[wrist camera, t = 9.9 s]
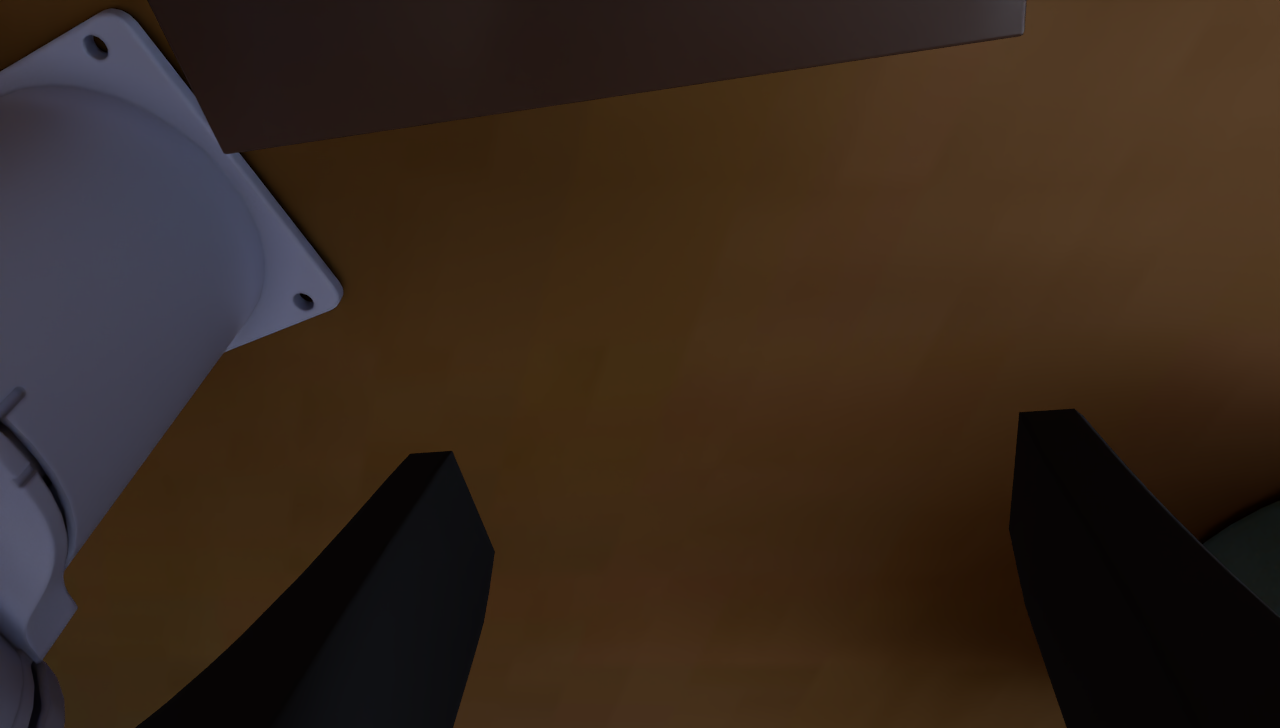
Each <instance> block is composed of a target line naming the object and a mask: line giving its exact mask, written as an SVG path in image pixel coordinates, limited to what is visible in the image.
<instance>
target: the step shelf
mask: <svg viewBox="0 0 1280 728" xmlns="http://www.w3.org/2000/svg"><path fill="white" fill-rule="evenodd" d="M148 2H149V5H150V7H151V9H152V11H153V13H154V15H155V17H156V19H157V21H158V23H159V25H160V27H161V29H162V31H163V33H164V35H165V37H166V39H167V41H168V43H169V45H170V47H171V49H172V51H173V53H174V55H175V57H176V59H177V61H178V63H179V65H180V67H181V69H182V71H183V73H184V75H185V77H186V79H187V81H188V83H189V85H190V87H191V89H192V91H193V93H194V95H195V97H196V99H197V101H198V103H199V105H200V107H201V109H202V111H203V113H204V115H205V117H206V119H207V121H208V123H209V125H210V127H211V129H212V131H213V133H214V135H215V137H216V139H217V141H218V143H219V145H220V147H221V149H222V151H223V153H224V154H232V153H239V152H245V151H252V150H259V149H266V148H272V147H279V146H286V145H292V144H299V143H306V142H313V141H319V140H326V139H333V138H340V137H346V136H353V135H360V134H366V133H373V132H380V131H387V130H393V129H400V128H407V127H413V126H420V125H427V124H434V123H440V122H447V121H454V120H460V119H467V118H474V117H481V116H487V115H494V114H501V113H507V112H514V111H521V110H528V109H534V108H541V107H548V106H554V105H561V104H568V103H575V102H581V101H588V100H595V99H601V98H608V97H615V96H622V95H628V94H635V93H642V92H648V91H655V90H662V89H669V88H675V87H682V86H689V85H695V84H702V83H709V82H716V81H722V80H729V79H736V78H742V77H749V76H756V75H763V74H769V73H776V72H783V71H789V70H796V69H803V68H810V67H816V66H823V65H830V64H836V63H843V62H850V61H857V60H863V59H870V58H877V57H883V56H890V55H897V54H904V53H910V52H917V51H924V50H930V49H937V48H944V47H951V46H957V45H964V44H971V43H978V42H984V41H991V40H998V39H1004V38H1011V37H1018V36H1021V35H1023V33H1024V29H1025V15H1026V0H148Z"/></svg>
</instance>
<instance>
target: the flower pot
mask: <svg viewBox="0 0 1280 728" xmlns="http://www.w3.org/2000/svg"><path fill="white" fill-rule="evenodd" d="M1202 545H1203V546H1204V547H1205V548H1206V549H1207V550H1208V551H1209V552H1210V553H1211V554H1212V555H1213V556H1215V557H1216V558H1217V559H1218V560H1219V561H1220V562H1221V563H1222V564H1223V565H1224V566H1225V567H1226V568H1227V569H1228V570H1229V571H1230V572H1231V573H1232V574H1233V575H1235V576H1236V577H1237V578H1238V579H1239V580H1240V581H1241V582H1242V583H1243V584H1244V585H1245V586H1247V587H1248V588H1249V589H1250V590H1251V591H1252V592H1253V593H1254V594H1255V595H1257V596H1258V597H1259V598H1260V599H1261V600H1262V601H1263V602H1264V603H1265V604H1266V605H1268V606H1269V607H1270V608H1271V609H1272V610H1273V611H1274V612H1275V613H1276V614H1278V615H1279V616H1280V500H1279V501H1277V502H1275V503H1272V504H1270V505H1268V506H1265V507H1263V508H1261V509H1259V510H1257V511H1255V512H1254V513H1252V514H1250V515H1248V516H1246V517H1244V518H1242V519H1241V520H1239V521H1237V522H1235V523H1233V524H1231V525H1230V526H1228V527H1227V528H1225V529H1224V530H1222V531H1221V532H1219V533H1218V534H1216V535H1215V536H1213V537H1212V538H1210V539H1209V540H1208V541H1206V542H1205V543H1204V544H1202Z"/></svg>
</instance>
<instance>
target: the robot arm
mask: <svg viewBox="0 0 1280 728" xmlns="http://www.w3.org/2000/svg"><path fill="white" fill-rule="evenodd" d="M93 36H96V37H99V38H100V39H101V40H102V41H103V42H104V43H105V44H106V46H107V48H108V53H106V52H103V51H102V50H101V49H99V48H98V47H97V46H96V44H95V42H94V40H93ZM300 293H303V294H306V295H308V296H309V297H310V298H312V300H313V302H310V301H307V300H305V299H303V298H302V297H301V296H300ZM342 296H343V287H342V286H341V284H340V282H339V280H338V279H337V278H336V277H335V275H334V274H333V273H332V271H331V270H330V269H329V268H328V266H327V265H326V264H325V262H324V261H323V260H322V259H321V257H320V256H319V255H318V253H317V252H316V251H315V250H314V248H313V247H312V246H311V244H310V243H309V242H308V241H307V239H306V238H305V237H304V235H303V234H302V233H301V232H300V230H299V229H298V228H297V226H296V225H295V224H294V223H293V221H292V220H291V219H290V217H289V216H288V215H287V214H286V212H285V211H284V210H283V208H282V207H281V206H280V205H279V203H278V202H277V201H276V199H275V198H274V197H273V196H272V194H271V193H270V192H269V190H268V189H267V188H266V187H265V185H264V184H263V183H262V181H261V180H260V179H259V178H258V176H257V175H256V174H255V172H254V171H253V170H252V169H251V167H250V166H249V165H248V163H247V162H246V161H245V160H244V158H243V157H242V156H241V154H240V153H232V154H224V153H223V151H222V149H221V147H220V145H219V143H218V141H217V139H216V137H215V135H214V133H213V131H212V129H211V127H210V125H209V123H208V121H207V119H206V117H205V115H204V113H203V111H202V109H201V107H200V105H199V103H198V101H197V99H196V97H195V95H194V94H193V93H192V91H191V90H190V89H189V88H188V86H187V85H186V84H185V82H184V81H183V80H182V79H181V77H180V76H179V75H178V73H177V72H176V71H175V70H174V68H173V67H172V66H171V64H170V63H169V62H168V61H167V59H166V58H165V57H164V55H163V54H162V53H161V52H160V50H159V49H158V48H157V46H156V45H155V44H154V43H153V41H152V40H151V39H150V37H149V36H148V35H147V34H146V32H145V31H144V30H143V28H142V27H141V26H140V25H139V23H138V22H137V21H136V20H135V19H134V18H133V17H132V16H131V15H129V14H127V13H126V12H124V11H122V10H119V9H113V8H110V9H107V10H103V11H102V12H100V13H98V14H96V15H95V16H93V17H91V18H90V19H88V20H86V21H85V22H83V23H81V24H80V25H78V26H76V27H74V28H73V29H71V30H69V31H68V32H66V33H64V34H63V35H61V36H59V37H58V38H56V39H54V40H53V41H51V42H49V43H48V44H46V45H44V46H42V47H41V48H39V49H37V50H36V51H34V52H32V53H31V54H29V55H27V56H26V57H24V58H22V59H21V60H19V61H17V62H16V63H14V64H12V65H11V66H9V67H7V68H5V69H4V70H2V71H0V728H64V724H65V706H64V697H63V694H62V691H61V688H60V685H59V682H58V679H57V677H56V675H55V674H54V673H53V671H52V670H51V669H50V667H49V666H48V665H47V663H46V662H44V661H43V658H44V657H45V655H46V654H47V652H48V651H49V650H50V648H51V647H52V645H53V644H54V642H55V641H56V639H57V638H58V636H59V635H60V634H61V632H62V631H63V629H64V628H65V626H66V625H67V623H68V622H69V620H70V619H71V618H72V616H73V615H74V613H75V612H76V610H77V609H78V607H77V605H76V603H75V601H74V600H73V599H72V597H71V596H70V595H69V593H68V591H67V589H66V587H65V584H64V580H63V574H64V570H65V569H66V568H67V566H68V565H69V564H70V562H71V561H72V560H73V558H74V557H75V556H76V554H77V553H78V551H79V550H80V549H81V547H82V546H83V545H84V543H85V542H86V540H87V539H88V538H89V536H90V535H91V534H92V532H93V531H94V530H95V528H96V527H97V525H98V524H99V523H100V521H101V520H102V519H103V517H104V516H105V514H106V513H107V512H108V510H109V509H110V508H111V506H112V505H113V504H114V502H115V501H116V499H117V498H118V497H119V495H120V494H121V493H122V491H123V490H124V488H125V487H126V486H127V484H128V483H129V482H130V480H131V479H132V478H133V476H134V475H135V473H136V472H137V471H138V469H139V468H140V467H141V465H142V464H143V462H144V461H145V460H146V458H147V457H148V456H149V454H150V453H151V452H152V450H153V449H154V447H155V446H156V445H157V443H158V442H159V441H160V439H161V438H162V436H163V435H164V434H165V432H166V431H167V430H168V428H169V427H170V426H171V424H172V423H173V421H174V420H175V419H176V417H177V416H178V415H179V413H180V412H181V410H182V409H183V408H184V406H185V405H186V404H187V402H188V401H189V399H190V398H191V397H192V395H193V394H194V393H195V391H196V390H197V389H198V387H199V386H200V384H201V383H202V382H203V380H204V379H205V378H206V376H207V375H208V373H209V372H210V371H211V369H212V368H213V367H214V365H215V364H216V363H217V361H218V360H219V358H220V357H221V356H222V354H223V353H224V352H226V351H229V350H231V349H234V348H236V347H239V346H241V345H244V344H247V343H249V342H252V341H254V340H257V339H259V338H262V337H264V336H267V335H269V334H272V333H274V332H277V331H279V330H282V329H284V328H287V327H290V326H292V325H295V324H297V323H300V322H302V321H305V320H307V319H310V318H312V317H315V316H317V315H320V314H322V313H325V312H328V311H330V310H332V309H334V308H335V307H337V305H338V304H339V302H340V300H341V298H342ZM1009 531H1010V536H1011V541H1012V546H1013V551H1014V556H1015V560H1016V565H1017V570H1018V575H1019V579H1020V584H1021V588H1022V593H1023V597H1024V602H1025V606H1026V609H1027V612H1028V615H1029V618H1030V621H1031V624H1032V627H1033V630H1034V633H1035V636H1036V639H1037V642H1038V645H1039V648H1040V651H1041V654H1042V657H1043V660H1044V663H1045V666H1046V669H1047V672H1048V674H1049V677H1050V680H1051V683H1052V686H1053V689H1054V692H1055V695H1056V698H1057V701H1058V704H1059V706H1060V709H1061V712H1062V715H1063V718H1064V721H1065V724H1066V727H1067V728H1280V616H1279V615H1278V614H1276V613H1275V612H1274V611H1273V610H1272V609H1271V608H1270V607H1269V606H1268V605H1266V604H1265V603H1264V602H1263V601H1262V600H1261V599H1260V598H1259V597H1258V596H1257V595H1255V594H1254V593H1253V592H1252V591H1251V590H1250V589H1249V588H1248V587H1247V586H1245V585H1244V584H1243V583H1242V582H1241V581H1240V580H1239V579H1238V578H1237V577H1236V576H1235V575H1233V574H1232V573H1231V572H1230V571H1229V570H1228V569H1227V568H1226V567H1225V566H1224V565H1223V564H1222V563H1221V562H1220V561H1219V560H1218V559H1217V558H1216V557H1215V556H1213V555H1212V554H1211V553H1210V552H1209V551H1208V550H1207V549H1206V548H1205V547H1204V546H1203V545H1202V544H1201V543H1200V542H1199V541H1198V540H1197V539H1196V538H1195V537H1194V536H1193V535H1192V534H1191V533H1190V532H1189V531H1188V530H1187V529H1186V528H1185V527H1184V526H1183V525H1182V524H1181V523H1180V522H1179V521H1178V520H1177V519H1176V518H1175V517H1174V516H1173V515H1172V514H1171V513H1170V512H1169V511H1168V510H1167V509H1166V507H1165V506H1164V505H1163V504H1162V503H1161V502H1160V501H1159V500H1158V499H1157V498H1156V497H1155V496H1154V495H1153V494H1152V493H1151V492H1150V491H1149V490H1148V488H1147V487H1146V486H1145V485H1144V484H1143V483H1142V482H1141V481H1140V480H1139V479H1138V478H1137V477H1136V475H1135V474H1134V473H1133V472H1132V471H1131V470H1130V469H1129V468H1128V467H1127V466H1126V464H1125V463H1124V462H1123V461H1122V460H1121V459H1120V458H1119V457H1118V456H1117V454H1116V453H1115V452H1114V451H1113V450H1112V449H1111V448H1110V446H1109V445H1108V444H1107V443H1106V442H1105V441H1104V440H1103V438H1102V437H1101V436H1100V435H1099V434H1098V433H1097V431H1096V430H1095V429H1094V428H1093V427H1092V426H1091V425H1090V423H1089V422H1088V421H1087V420H1086V419H1085V417H1084V416H1083V415H1081V414H1080V413H1079V412H1078V411H1077V410H1075V409H1063V410H1048V411H1033V412H1019V423H1018V434H1017V445H1016V456H1015V468H1014V479H1013V490H1012V501H1011V512H1010V523H1009ZM494 554H495V551H494V549H493V546H492V544H491V542H490V539H489V537H488V535H487V532H486V530H485V527H484V525H483V523H482V520H481V518H480V516H479V513H478V511H477V509H476V506H475V504H474V501H473V499H472V497H471V494H470V492H469V490H468V487H467V485H466V483H465V480H464V478H463V475H462V473H461V471H460V468H459V466H458V464H457V461H456V459H455V457H454V454H453V452H452V451H445V452H430V453H415V454H410V455H409V456H408V457H407V458H406V459H405V460H404V461H403V462H402V463H401V464H400V465H399V466H398V467H397V468H396V470H395V471H394V472H393V473H392V474H391V475H390V476H389V477H388V478H387V480H386V481H385V482H384V483H383V484H382V485H381V486H380V487H379V489H378V490H377V491H376V492H375V493H374V494H373V495H372V497H371V498H370V499H369V500H368V501H367V502H366V503H365V504H364V506H363V507H362V508H361V509H360V510H359V511H358V512H357V514H356V515H355V516H354V517H353V518H352V519H351V520H350V521H349V523H348V524H347V525H346V526H345V527H344V528H343V529H342V530H341V532H340V533H339V534H338V535H337V536H336V537H335V538H334V539H333V540H332V541H331V543H330V544H329V545H328V546H327V547H326V548H325V549H324V550H323V551H322V552H321V554H320V555H319V556H318V557H317V558H316V559H315V560H314V561H313V562H312V564H311V565H310V566H309V567H308V568H307V569H306V570H305V571H304V572H303V573H302V574H301V575H300V576H299V578H298V579H297V580H296V581H295V582H294V583H293V584H292V585H291V586H290V587H289V588H288V589H287V590H286V591H285V592H284V593H283V594H282V595H281V596H280V597H279V598H278V599H277V600H276V601H275V602H274V603H273V604H272V605H271V606H270V607H269V608H268V609H267V610H266V611H265V612H264V613H263V614H262V615H261V616H260V617H259V618H258V619H257V620H256V621H255V622H254V623H253V624H252V625H251V626H250V627H249V628H248V629H247V630H246V631H245V632H244V633H243V634H242V635H241V636H240V637H239V638H238V639H237V640H236V641H235V642H234V643H233V644H232V645H231V646H230V647H229V648H228V649H227V650H226V651H224V652H223V653H222V654H221V655H220V656H219V657H218V658H217V659H216V660H215V661H214V662H213V663H211V664H210V665H209V666H208V667H207V668H206V669H205V670H204V671H202V672H201V673H200V674H199V675H198V676H197V677H196V678H194V679H193V680H192V681H191V682H190V683H189V684H188V685H186V686H185V687H184V688H183V689H182V690H181V691H180V692H178V693H177V694H176V695H175V696H174V697H173V698H172V699H170V700H169V701H168V702H167V703H166V704H164V705H163V706H162V707H161V708H160V709H158V710H157V711H156V712H155V713H153V714H152V715H151V716H150V717H148V718H147V719H146V720H145V721H143V722H142V723H141V724H139V725H138V726H137V727H136V728H453V726H454V722H455V719H456V716H457V712H458V709H459V706H460V702H461V699H462V695H463V692H464V689H465V685H466V682H467V679H468V675H469V672H470V668H471V665H472V662H473V658H474V655H475V651H476V648H477V644H478V641H479V637H480V634H481V630H482V626H483V623H484V618H485V612H486V606H487V600H488V595H489V589H490V582H491V575H492V568H493V561H494Z"/></svg>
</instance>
